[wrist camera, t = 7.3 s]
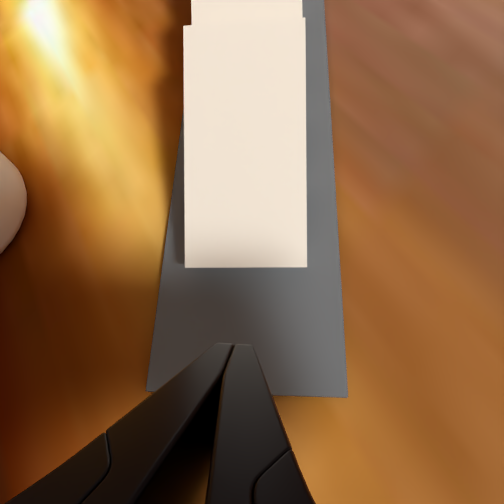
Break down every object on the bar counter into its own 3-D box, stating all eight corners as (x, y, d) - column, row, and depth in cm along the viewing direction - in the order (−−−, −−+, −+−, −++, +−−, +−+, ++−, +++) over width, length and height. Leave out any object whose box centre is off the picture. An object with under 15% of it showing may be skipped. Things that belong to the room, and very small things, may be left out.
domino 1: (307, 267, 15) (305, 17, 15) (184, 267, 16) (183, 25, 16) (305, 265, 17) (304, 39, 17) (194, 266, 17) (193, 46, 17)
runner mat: (346, 397, 15) (348, 397, 15) (149, 391, 16) (145, 391, 16) (322, -5, 24) (323, -11, 24) (199, 4, 25) (198, -2, 25)
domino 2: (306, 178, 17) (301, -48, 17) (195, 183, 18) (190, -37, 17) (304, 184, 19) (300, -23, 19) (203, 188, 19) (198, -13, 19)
